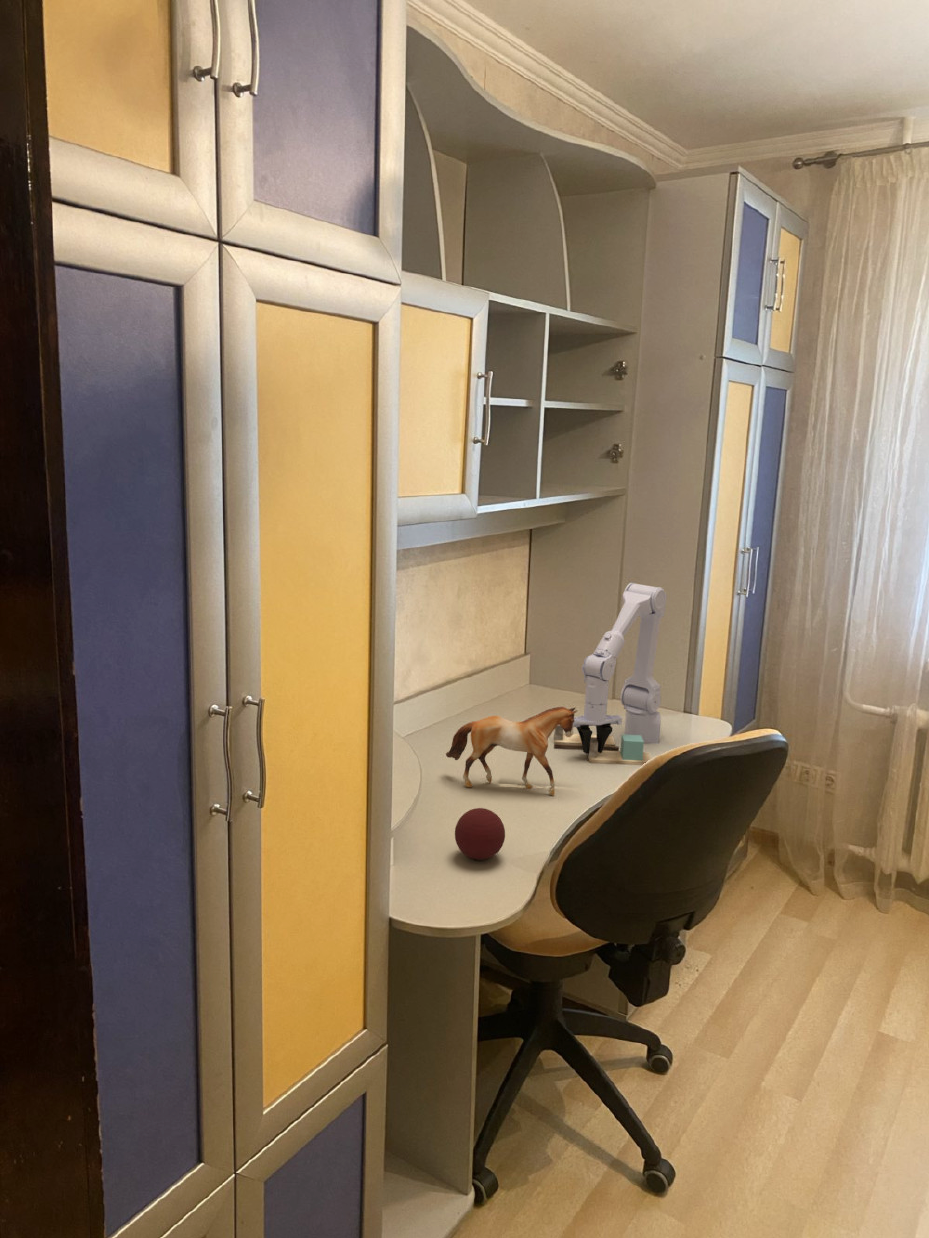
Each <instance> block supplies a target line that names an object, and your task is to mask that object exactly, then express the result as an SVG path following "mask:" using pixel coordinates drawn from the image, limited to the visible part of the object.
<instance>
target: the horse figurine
mask: <svg viewBox="0 0 929 1238" xmlns="http://www.w3.org/2000/svg"><path fill="white" fill-rule="evenodd" d="M577 712H578V710H577V707H571V708H566V707H565V706H557V707H553V708H548V709H546V710H544V711H541V712H540V713H538V714H536V715H533V716H532V717H531V716H530V717H528V718H526V719H525V720H523V721H511V720H508V719H506V718H503V717H501V716H498V715H491V716H488V717H484V718H481V719H479V720H476V721H471V722H468V723H466V724H464V725H462V726H460V728H459V729H458V730H457V731H456V733H455V734H454V735H453V737H452V740H451V741H452V743H451V747H450V749H449V750H448V751H446V752H445V756H446V757H447V758H449V759H451V758H452V759H454V760H455V761H458V760H459V759H460V758H461V756H462V754H463V753H464V751H465V750H466V747H467V745H468V739H469V737H468V736H469V734H470V742H471V746H472V749H473V750H472V753H471V754H470V755H469V756H468V758H466V760H465V766H464V767H465V768H464V772H463V775H462V779H463V780H464V783H463V784H464V786H465V787H467V788H472V787H473V784H472V781H471V780H470V778H469V774H470V773H469V772H470V769H471V767H472V766H473V764H474V763H475V761H477V760H479V762H480V763H481V765H482V767H483V768H484V772H485V773H486V775H485V779H486V781H487V782H488V783H492V780H493V779H492V778H493V777H492V775H493V774H492V773H491V772H492V771H491V769H490V767H489V765H488V763H487V761H486V756H487V755H488V754H489V753H490V752H492V751H493V750H494V749H495V748H496V747H497V746H499V747H501V748H503V749H505V750H510V751H515V752H523V753H526V756H525V761H524V764H523V765H524V766H523V768H524V769H523V773H522V777H521V780H522V782H524V787H525V789H529V790H532V789H533V786H532V783H531V782H530V781H529V780H528V778H527V776H528V772H529V769H530V766H531V762H532V760H533V758H535V759H536V760H537V761H538V762H539V764H540V765H541V766H542V768H543V769H544V770H545V771H546V773H547V776H548V778H549V785H550V787H549V788H548V793H549V794H550V795H551V796H555V787H556V783H555V778H554V774H553V769H552V768H551V766H550V764H549V761H548V757H547V756H546V752H547V750H548V747H549V741H548V740H549V738H550V737H551V735H552V734H553V732H554V731H555V728H556V726H557V725H560V726H561V727H562V728H563V732H564V734H565V735H566V736H567V737H571V736H572V735H573V734H575V733H574V728H573V723H574V718H575V713H577Z"/></svg>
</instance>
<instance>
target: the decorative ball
mask: <svg viewBox="0 0 929 1238" xmlns="http://www.w3.org/2000/svg"><path fill="white" fill-rule="evenodd" d="M505 838H506V829H505V825H504V823H503V821H502V818H500V817H499V815H498V814H497V813H496V812H494V811H492V810H491V809H488V808H485V807H484V808H483V807H477V808H472V809H469V810H468V811H466V812H465V813H463V814H462V815H461V816H460V818H459V819H458V821H456V825H455V828H454V839H455V843H456V846H457V848H458V849H459V850H460V852H462V854H463V855H464V856H466V857H468V858H470V859H472V860H476V861H477V860H478V861H479V860H481V861H482V860H488V859H490V858H492V857H494V856H495V855H497V854H498V853H499V852H500V850H501V849H502V847H503V845H504V843H505V841H506V840H505Z"/></svg>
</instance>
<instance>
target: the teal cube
mask: <svg viewBox="0 0 929 1238" xmlns="http://www.w3.org/2000/svg"><path fill="white" fill-rule="evenodd" d="M620 736H621V739H620V740H621V741H620V748H619V751H620V753H621V756H622V759H623V760H643V752H644V745H645V743H644V741H643V739H642V736H641V735H624V733H623V734H621V735H620Z"/></svg>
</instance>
